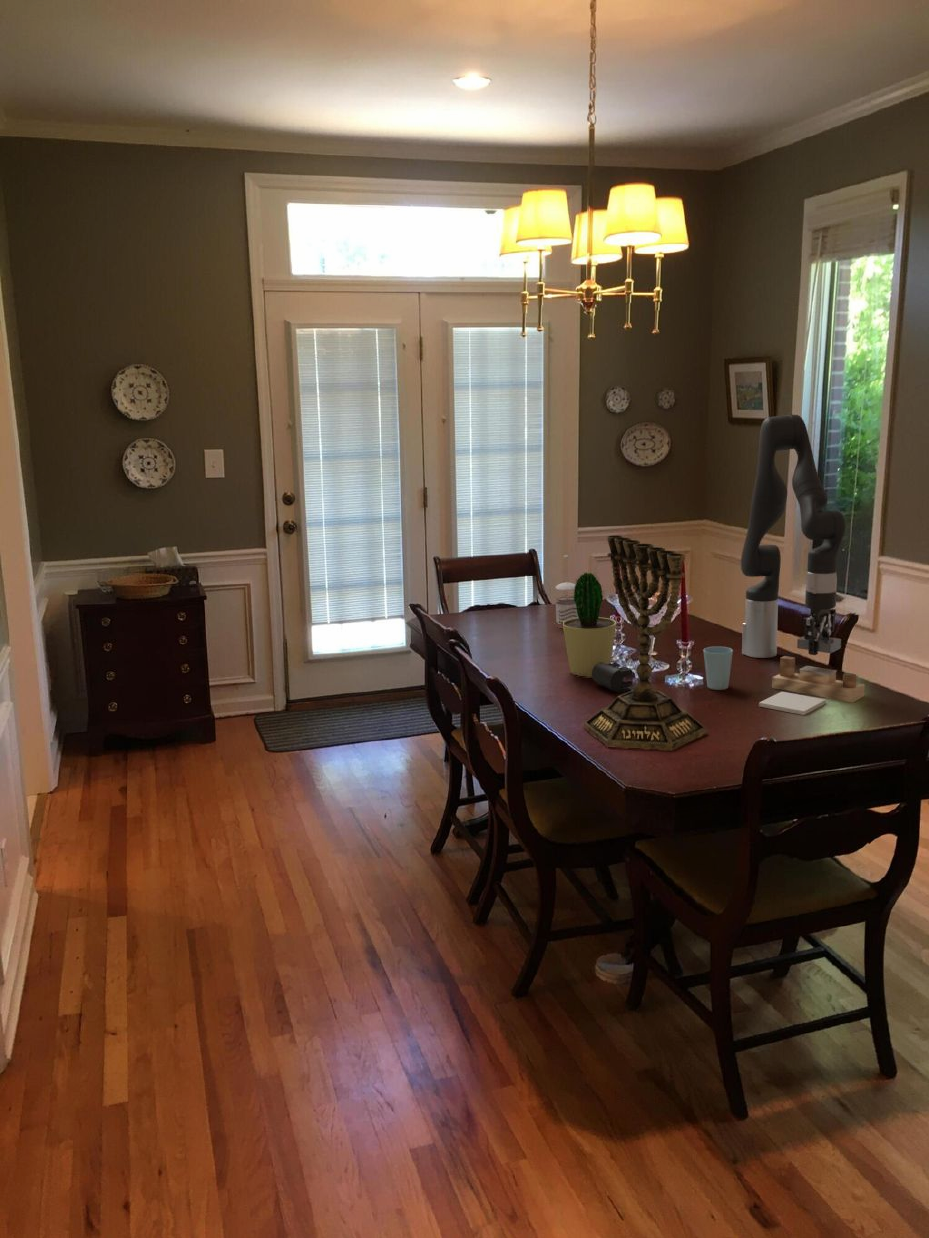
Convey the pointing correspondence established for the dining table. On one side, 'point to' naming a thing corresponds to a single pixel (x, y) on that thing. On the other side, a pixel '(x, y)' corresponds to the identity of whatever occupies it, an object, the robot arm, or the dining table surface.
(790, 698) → the bench mat
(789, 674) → the plane body
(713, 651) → the cup
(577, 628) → the potted cactus
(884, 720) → the dining table surface
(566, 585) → the french press
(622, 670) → the end cap
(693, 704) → the dining table surface
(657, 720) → the menorah
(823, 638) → the lever cap
